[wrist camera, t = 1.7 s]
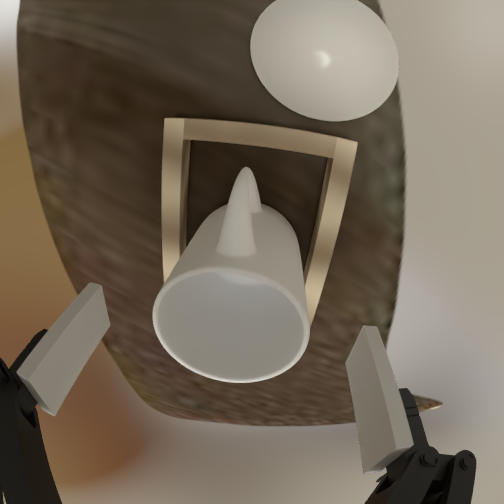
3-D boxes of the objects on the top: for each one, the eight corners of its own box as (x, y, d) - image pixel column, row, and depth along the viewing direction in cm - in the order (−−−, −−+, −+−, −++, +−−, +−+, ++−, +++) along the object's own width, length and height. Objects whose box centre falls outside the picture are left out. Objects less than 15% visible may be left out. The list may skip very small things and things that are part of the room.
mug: (310, 161, 20) (340, 205, 11) (291, 292, 26) (294, 388, 16) (198, 152, 21) (134, 188, 11) (199, 283, 26) (163, 371, 17)
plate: (260, -16, 14) (259, -20, 13) (398, 15, 14) (402, 12, 13) (243, 108, 19) (241, 108, 18) (385, 135, 19) (389, 136, 18)
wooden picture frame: (174, 117, 19) (164, 118, 18) (350, 139, 19) (357, 142, 17) (172, 297, 27) (166, 310, 26) (307, 317, 27) (308, 331, 25)
